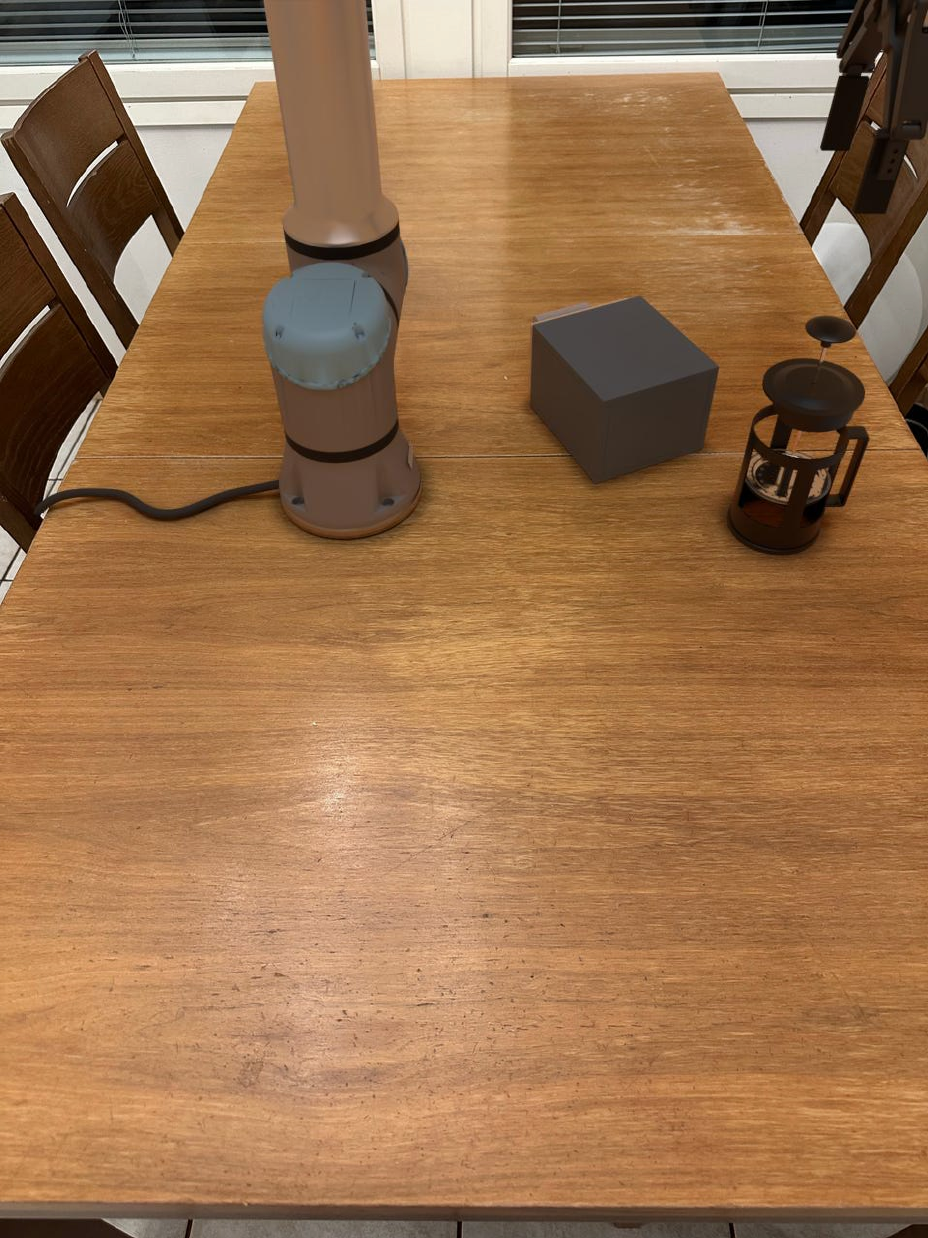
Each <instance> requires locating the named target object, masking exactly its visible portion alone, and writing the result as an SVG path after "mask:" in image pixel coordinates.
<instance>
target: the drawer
mask: <svg viewBox="0 0 928 1238" xmlns="http://www.w3.org/2000/svg"><path fill="white" fill-rule="evenodd" d="M626 299H629V297H624V298H620V299H617V300H612V301H608V302H605V303H602V304H598V305H595V306H590V304H589V302H588V301H584V302H580V303H575V304H573V305H569V306H564V307H561V308H558V309H555V310H551V311H546V312H542V313H538V314H535V315H533V316H532V318H531V319H532V322H531V323H530V324H529V349H528V350H529V352H528V353H529V355H528V383H527V385H528V386H527V390H528V392H530V389H531V357H532V325H533V324H537V323H541V322H545V321H548V320H552V319H556V318H559V317H563V316H567V315H570V314H574V313H578V312H581V311H585V310H589V309H592V308H596V307H600V306H603V305H607V304H611V303H615V302H618V301H622V300H626Z"/></svg>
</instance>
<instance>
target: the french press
mask: <svg viewBox="0 0 928 1238" xmlns="http://www.w3.org/2000/svg"><path fill="white" fill-rule="evenodd" d="M804 329H805V331H806V334H808V335H809V336H810V337H811V338H812V339H814V340H817V341H819V342H820V343H819V344H820V347H821V348H822V349H821V353H820V355H819V359H818V358H811V357H799V358H796V357H795V358H790V359H785V360H782V361H779V362H776V363H774V364H773V365H771V366H770V367H769V368H768V369H766V371H765V372H764V374H763V376H762V381H761V386H762V391H763V392H764V394H765V396H766V397H767V399H768V400H769V401H770V402H771V404H769V405H766V406H764V407H762V408H760V409H759V410H758V411H757V412H756V413H755V415H754V416H753V418H752V421H751V425H750V429H749V433H748V438H747V441H746V446H745V450H744V454H743V458H742V462H741V466H740V469H739V475H738V478H737V481H736V482H737V483H736V486H735V489H734V493H733V497H732V501H731V503H730V505H729V507H728V509H727V513H726V524H727V527H728V529H729V531H730V533H731V534H732V536H733V537H734V538H736V539H737V541H738V542H740V543H742V545H745V546H746V547H748V548H750V549H752V550H753V551H757V552H759V553H763V554H767V555H768V554H769V555H776V556H786V555H787V556H788V555H795V554H799V553H802V552H804V551H806V550H808V549H809V548H811V547H812V546H813V545H814V544H815V543H816V542H817V540H818V538H819V536H820V533H821V528H822V527H821V523H822V521H823V517H824V515H825V511H826V508H844V507H845V506H846V504H847V502H848V500H849V496H850V494H851V491H852V488H853V485H854V483H855V480H856V477H857V474H858V472H859V469H860V466H861V464H862V461H863V459H864V455H865V453H866V450H867V449H868V448H867V447H868V444H869V443H870V436H869V433H868V431H867V428H866V427H865V426H864V425H848V424H849V422H850V421H851V420H852V418H853V416H854V414H855V412H856V411H857V410H858V409H859V408H860V407H861V406H862V405H863V403H864V401H865V399H866V388H865V386H864V383H863V382H862V380H861V379H860V378H859V377H858V376H857V375H856V373H853V372H852V371H851V370H849V369H848V368H846V367H844V366H842V365H839V364H837V363H834V362H831V361H829V360H824V359H825V356H826V353H827V349H830V348H831V347H832V345H833V344H844V343H847V342H850V341H852V340H853V339H854V338H856V337H855V336H856V334H857V330H856V327H855V326H854V324H852V323H851V322H850V321H849V320H846V319H845V318H842V317H839V316H834V315H818V316H814V317H811V318H810V319H808V320H807V321H806V323H805V326H804ZM772 416H777V418H776V422H775V425H774V429H773V431H772V436H771V439H770V442H769V443H770V444H769V446H768V445H767V444H765V443H764V442H763V441H762V440H761V438H760V437H759V436H758V434H757V433H756V430H755V426H756V425H758V423H759V422H761V421H763V420H764V419H767V418H769V417H772ZM793 430H796V431H797V433H796V437H795V441H794V444H793V448H792V449H788V446H789V442H790V439H791V435H792V432H793ZM834 431H835V432H836V433H837V434H838V439H837V442H836V445H835V449H834V451H833V453H832V454H831V455H828V456H824V457H818V458H814V457H813V456H811V455H809V454H806V453H804V452H801V451H798V450H797V449H798V446H799V443H800V439H801V436H802V432H805V433H815V434H819V433H820V434H821V433H828V432H834ZM854 440H856V443H855V446H854V448H853V452H852V455H851V457H850V460H849V463H848V466H847V468H846V472H845V474H844V477H843V480H842V482H841V486H840V488H839V491H838V493H831V491H832V489H833V486H834V484H835V483H834V482H835V479H836V476H837V474H838V472H839V468H840V465H841V462H842V459H843V458H844V456H845V454H846V452H847V449H848V446H849V443H850V441H854ZM754 451H755V453H754ZM761 500H762V501H764V502H766V503H769V504H772V505H774V506H778V507H782V508H785V509H784V512H783V516H782V519H781V522H780V526H779V527H777V526H772V525H768V524H766V523H763V522H760V521H758V520H756V519H754V518H753V517H751V516H750V515H748V513H746V511H744V510H743V509H744V508H745V507H746V506H747V505H749V504H750V503H751V504H752V503H753V502H757V501H761ZM803 517H804V518H805V521H806V525H804V526H800V523H801V520H802V518H803Z"/></svg>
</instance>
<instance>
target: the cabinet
mask: <svg viewBox="0 0 928 1238" xmlns="http://www.w3.org/2000/svg"><path fill="white" fill-rule="evenodd" d="M719 371H720V365H719V364H717V363H716V362H715V361H714V360H713V359H712V358H711V357H709V356H708V355H707V354H706V353H705V351H703V350H702V349H701V348H700V347H699V346H697V345H696V344H695V343H694V341H692V340H691V339H690V338H688V337H687V336H686V334H684V333H683V332H682V331H681V330H680V329H678V327H676V326H675V325H674V324H673V323H672V322H670V320H669V319H667V317H665V316H664V315H663V314H662V313H661V312H660V311H658V310H657V309H656V308H655V307H654V306H653V305H651V303H649V302H648V300H646V299H645V298H644V297H643V296H642V295H637V296H633V297H630V298H629V297H628V299H626V300H622V301H618V302H615V303H611V304H607V305H603V306H600V307H596V308H592V309H589V310H585V311H581V312H578V313H574V314H570V315H567V316H563V317H559V318H556V319H552V320H548V321H545V322H541V323H537V324H533V325H532V357H531V389H530V391H529V406H530V408H531V409H532V410H533V411H534V412H535V414H536V415H537V416H538V417H539V418H540V420H541V421H542V423H544V424H545V426H546V427H547V428H548V430H549V431H550V432H551V433H552V434H553V435H554V436H555V438H556V439H557V441H558V442H559V443H560V444H561V445H562V446H563V447H564V448H565V450H566V451H567V452H568V454H570V456H571V457H572V458H573V459H574V460H575V462H576V463H577V464H578V465H579V467H580V468H581V469H582V470H583V471H584V473H585V474H586V475H587V476H588V478H589V479H590V480H591V481H592V482H593V484H594V485H597V484H600V483H602V482H606V481H608V480H612V479H615V478H618V477H620V476H624V475H627V474H630V473H634V472H636V471H640V470H642V469H646V468H649V467H652V466H655V465H658V464H661V463H664V462H667V461H670V460H673V459H676V458H677V459H678V458H680V457H682V456H686V455H689V454H691V453H695V452H698V451H701V450H703V449H704V444H705V440H706V434H707V429H708V424H709V420H710V415H711V410H712V405H713V401H714V396H715V390H716V385H717V381H718V376H719Z"/></svg>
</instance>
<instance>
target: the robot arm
mask: <svg viewBox="0 0 928 1238" xmlns="http://www.w3.org/2000/svg"><path fill="white" fill-rule="evenodd" d="M366 2H367V1H366V0H263V5H264V12H265V19H266V25H267V32H268V39H269V44H270V45H269V46H270V49H271V50H270V51H271V59H272V65H273V71H274V76H275V83H276V91H277V96H278V102H279V109H280V117H281V123H282V128H283V129H282V130H283V135H284V142H285V149H286V154H287V162H288V167H289V174H290V180H291V187H292V193H293V194H292V195H293V201H292V203H291V204H290V205H289V207H288V208H287V209H286V210H285V211H284V213H283V216H282V219H281V222H282V229H283V230H282V231H283V236H284V242H285V248H286V254H287V260H288V267H289V277H282V278H280V279H279V280H278V281H277V282H276V283H275V284H274V285H273V286H272V288H271V289H270V290H269V292H268V293H267V295H266V296H265V299H264V302H263V306H262V313H261V321H262V339H263V343H264V351H265V352H266V356H267V358H268V362H269V366H270V371H271V375H272V381H273V386H274V390H275V394H276V399H277V403H278V408H279V413H280V417H281V418H280V419H281V423H282V427H283V432H284V436H285V445H284V450H283V455H282V461H281V468H280V471H279V478H278V479H274V480H269V481H264V482H260V483H254V484H249V485H244V486H239V487H235V488H230V489H226V490H224V491H220V492H218V493H216V494H213V495H210V496H208V497H206V498H203V499H201V500H198V501H196V502H194V503H191V504H188V505H185V506H182V507H178V508H170V509H169V508H167V509H166V508H157V507H154V506H151V505H149V504H147V503H145V502H144V501H143V500H141V499H139V498H138V497H137V496H135V495H133V494H131V493H130V492H127V491H125V490H122V489H118V488H117V489H116V488H106V487H105V488H103V487H79V488H70V489H65V490H60V491H58V492H55V493H53V494H51V495H49V496H47V497H46V498H44V499H42V501H40V502H39V503H38V504H37V505H36V507H35V508H34V510H33V514H34V515H42V514H45V512H46V511H47V510H48V509H49V508H50V507H52V506H54V505H56V504H58V503H60V502H63V501H67V500H70V499H78V498H79V499H80V498H105V499H117V500H121V501H123V502H126V503H127V504H129V505H131V506H132V507H133V508H135V509H136V510H138V511H139V512H140V513H142V514H144V515H146V516H149V517H151V518H156V519H163V520H165V519H167V520H168V519H169V520H171V519H180V518H183V517H184V518H185V517H188V516H191V515H193V514H197V513H199V512H201V511H203V510H205V509H209V508H210V507H212V506H215V505H218V504H220V503H223V502H226V501H228V500H232V499H236V498H241V497H245V496H251V495H255V494H260V493H265V492H270V491H275V490H278V492H279V497H280V501H281V506H282V509H283V511H284V513H285V515H286V516H287V518H288V519H289V520H290V521H291V522H292V523H293V524H295V525H296V526H297V527H299V528H300V529H302V530H304V531H305V532H308V533H310V534H312V535H315V536H318V537H323V538H329V539H339V540H340V539H341V540H350V539H359V538H364V537H370V536H373V535H376V534H380V533H382V532H385V531H388V530H389V529H391V528H393V527H395V526H396V525H398V524H400V523H402V522H403V520H405V519H406V518H407V517H408V516H409V515H410V514H411V513H412V512H413V511H414V509H415V508H416V506H417V505H418V503H419V501H420V498H421V495H422V477H421V476H422V475H421V469H420V466H419V463H418V460H417V458H416V456H415V453H414V447H413V446H414V445H413V444H412V442H411V441H409V442H408V441H407V438H406V436H405V435H404V433H403V431H402V428H401V427H400V422H399V410H398V400H397V390H396V389H397V388H396V380H395V378H396V377H395V355H396V350H397V342H398V334H399V330H400V329H399V328H400V322H401V316H402V312H403V311H402V310H403V303H404V298H405V295H406V292H407V286H408V282H409V260H408V255H407V251H406V247H405V244H404V241H403V239H402V236H401V228H400V214H399V209H398V208H397V205H396V204H395V203H394V202H393V201H392V200H391V199H390V198H388V197H387V196H386V195H385V194H383V192H382V179H381V169H380V168H381V167H380V156H379V155H380V153H379V144H378V133H377V132H378V131H377V120H376V119H377V118H376V110H375V109H376V108H375V96H374V85H373V84H374V83H373V73H372V60H371V49H370V36H369V24H368V14H367V13H368V12H367V3H366ZM839 41H840V42H839V43H838V46H837V48H836V51H835V56H836V59H837V60H840V61H839V64H838V72H839V74H841V75H838V77H837V82H836V86H835V89H834V93H833V97H832V101H831V105H830V108H829V112H828V116H827V119H826V123H825V127H824V131H823V134H822V139H821V142H820V146H819V149H820V151H822V152H850V150H851V147H852V144H853V143H852V142H853V140H854V136H855V133H856V130H857V125H858V122H859V119H860V115H861V111H862V109H863V105H864V102H865V98H866V94H867V92H868V87H869V84H870V81H871V78H870V76H869V75H862V74H875V73H876V59H877V58H878V56H879V55H880V53H881V52H883V53H884V54H885V55H886V69H885V83H884V96H883V97H884V98H883V108H882V120H881V122H882V124H881V127H879V128H877V129H875V130H874V132H873V133H871V134H872V135H871V137H872V139H873V142H872V144H871V148H870V151H869V155H868V158H867V161H866V165H865V167H864V171H863V174H862V178H861V181H860V184H859V188H858V191H857V195H856V198H855V200H854V205H853V208H852V211H853V213H854V215H856V214H857V215H886V214H887V211H888V208H889V206H890V205H889V204H890V201H891V198H892V195H893V193H894V189H895V186H896V185H897V184H896V183H897V180H898V177H899V174H900V172H901V168H902V165H903V162H904V159H905V156H906V153H907V150H908V147H909V145H910V142H911V141H923V140H924V138H925V137H926V133H927V129H928V0H857V2H856V3H855V6H854V9H853V10H852V13H851V15H850V17H849V21H848V23H847V25H846V27H845V29H844V32H843V35H842V36H841V39H840V40H839Z"/></svg>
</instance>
